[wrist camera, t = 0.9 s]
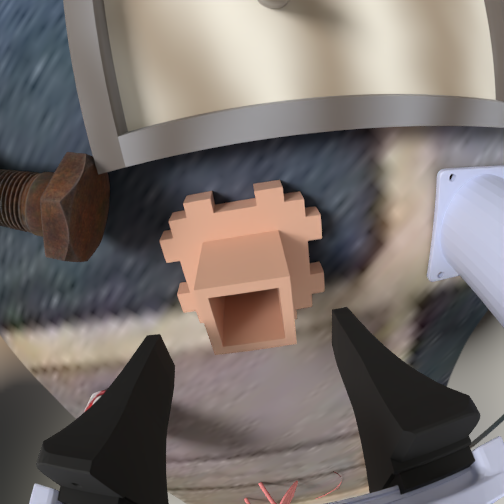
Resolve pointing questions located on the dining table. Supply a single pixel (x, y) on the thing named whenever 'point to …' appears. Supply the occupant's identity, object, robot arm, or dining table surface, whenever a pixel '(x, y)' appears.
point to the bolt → (58, 206)
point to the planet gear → (246, 265)
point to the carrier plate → (277, 70)
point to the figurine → (288, 496)
